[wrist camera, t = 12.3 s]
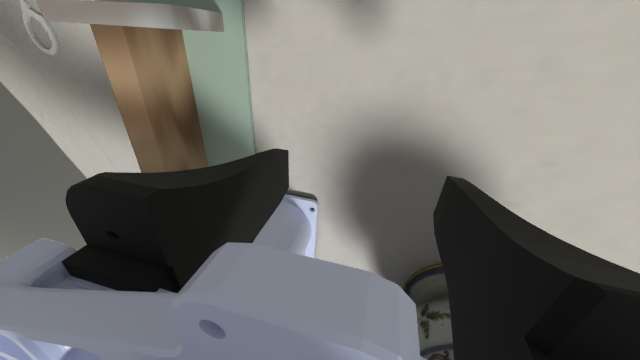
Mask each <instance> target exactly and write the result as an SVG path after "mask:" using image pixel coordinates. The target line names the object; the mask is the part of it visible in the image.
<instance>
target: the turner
mask: <svg viewBox="0 0 640 360" xmlns="http://www.w3.org/2000/svg"><path fill="white" fill-rule="evenodd" d="M37 3H38V5H39V8H40V10H41V12H42V15H43V17H44V19H45V21H57V22H72V23H87V24H90V26H91V28H92V31H93V34H94V37H95V40H96V43H97V46H98V49H99V52H100V54H101V57H102V60H103V63H104V66H105V69H106V72H107V75H108V77H109V80H110V83H111V86H112V89H113V92H114V95H115V98H116V100H117V103H118V106H119V109H120V112H121V115H122V118H123V121H124V124H125V126H126V129H127V132H128V135H129V138H130V141H131V144H132V147H133V149H134V152H135V155H136V158H137V161H138V164H139V167H140V170H141V173H155V172H172V171H182V170H190V169H198V168H204V167H208V164H207V159H206V154H205V148H204V143H203V138H202V133H201V128H200V122H199V117H198V112H197V107H196V101H195V96H194V91H193V86H192V81H191V75H190V70H189V65H188V60H187V54H186V49H185V44H184V39H183V34H182V30H196V31H213V32H224V23H223V15H222V13H220V12H214V11H208V10H202V9H196V8H190V7H184V6H178V5H172V4H158V3H134V2H111V1H88V0H37Z"/></svg>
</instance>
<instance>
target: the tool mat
mask: <svg viewBox="0 0 640 360" xmlns="http://www.w3.org/2000/svg"><path fill="white" fill-rule="evenodd" d="M95 1H111V2H134V3H158V4H172V5H178V6H184V7H190V8H196V9H202V10H208V11H214V12H220V13H222V15H223V23H224V32H213V31H196V30H182V34H183V39H184V44H185V49H186V54H187V60H188V65H189V70H190V75H191V81H192V86H193V91H194V96H195V101H196V107H197V112H198V117H199V122H200V128H201V133H202V138H203V143H204V148H205V154H206V159H207V164H208V167H209V166H214V165H219V164H223V163H227V162H231V161H234V160H238V159H241V158H245V157H248V156H251V155H254V154H255V142H254V130H253V118H252V105H251V93H250V81H249V68H248V56H247V44H246V32H245V19H244V7H243V0H95Z"/></svg>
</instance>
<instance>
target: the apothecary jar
mask: <svg viewBox="0 0 640 360" xmlns="http://www.w3.org/2000/svg"><path fill="white" fill-rule="evenodd" d="M404 292H405V293H406V294H407V295H408V296H409V297H410V298H411V300H412V301H413V302H414V303H415V304H416V312H417V324H418V337H419V349H420V356H421V357H423V358H425V359H427V360H454V353H453V338H452V327H451V316H450V307H449V298H448V290H447V284H446V279H445V274H444V270H443V266H442V264H438V265H433V266H429V267H427V268H424V269H422V270H420V271H418V272H416V273H415V274H414V275H412V276H411V277H410V279H409V280H408V281H407V283H406V285H405V287H404Z"/></svg>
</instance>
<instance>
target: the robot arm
mask: <svg viewBox="0 0 640 360" xmlns="http://www.w3.org/2000/svg"><path fill="white" fill-rule="evenodd" d="M288 187H289V169H288V150H282V149H271V150H267V151H264V152H261V153H257V154H254V155H251V156H248V157H245V158H241V159H238V160H234V161H231V162H227V163H223V164H219V165H214V166H209V167H204V168H198V169H190V170H182V171H172V172H155V173H111V172H104V173H99V174H97V175H95V176H93V177H90V178H88V179H86V180H84V181H81V182H79V183H77V184H75V185H73V186H71V187H70V188H69V189H68V190H67V195H66V205H67V208H68V211H69V213H70V215H71V217H72V218H73V220H74V222H75V224H76V225H77V227H78V229H79V231H80V232H81V234H82V236H83V238H84V240H85V242H86V243H87V245H86V246H84V247H83V248H81V249H80V250H78V251H76V250H75V249H74V248H73V247H71V246H69V245H67V244H63V243H60V242H57V241H53V240H50V239H46V238H40V239H39V240H37V241H35V242H33V243H31V244H30V245H28V246H26V247H24V248H22V249H21V250H19V251H17V252H15V253H13V254H12V255H10V256H8V257H6V258H4V259H2V260H1V261H0V360H427V359H425V358H423V357H421V356H420V349H419V337H418V324H417V312H416V304H415V303H414V302H413V301H412V300H411V298H410V297H409V296H408V295H407V294H406V293H405V292H404V291H403V290H402V288H401V287H400V286H399V285H397V284H396V283H394V282H391V281H389V280H387V279H385V278H382V277H380V276H378V275H376V274H373V273H371V272H369V271H365V270H361V269H357V268H352V267H348V266H344V265H340V264H336V263H332V262H328V261H324V260H320V259H316V258H315V247H316V232H317V216H318V202H317V201H316V200H314V199H308V198H303V197H298V196H293V195H288V194H285V193H286V191H287V189H288ZM311 208H314V209H315V210H313V209H311ZM433 216H434V231H435V237H436V241H437V245H438V250H439V254H440V258H441V262H442V266H443V270H444V274H445V279H446V284H447V290H448V298H449V307H450V316H451V327H452V338H453V353H454V360H640V274H639V273H637V272H634V271H632V270H629V269H627V268H624V267H622V266H619V265H616V264H614V263H611V262H609V261H607V260H604V259H602V258H600V257H597V256H595V255H593V254H590V253H588V252H586V251H584V250H582V249H580V248H577V247H575V246H573V245H571V244H569V243H567V242H565V241H563V240H561V239H559V238H557V237H555V236H553V235H551V234H549V233H547V232H545V231H543V230H542V229H540V228H538V227H536V226H534V225H533V224H531V223H529V222H527V221H526V220H524V219H522V218H521V217H519V216H518V215H516V214H515V213H513V212H511V211H510V210H508V209H507V208H505V207H504V206H502V205H501V204H499V203H498V202H497V201H495V200H494V199H492V198H491V197H490V196H488V195H487V194H485V193H484V192H483V191H481V190H480V189H478V188H477V187H476V186H474V185H473V184H471V183H470V182H468V181H467V180H465V179H463V178H457V177H451V176H447V178H446V181H445V183H444V186H443V189H442V192H441V195H440V197H439V200H438V203H437V206H436V208H435V211H434V214H433Z"/></svg>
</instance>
